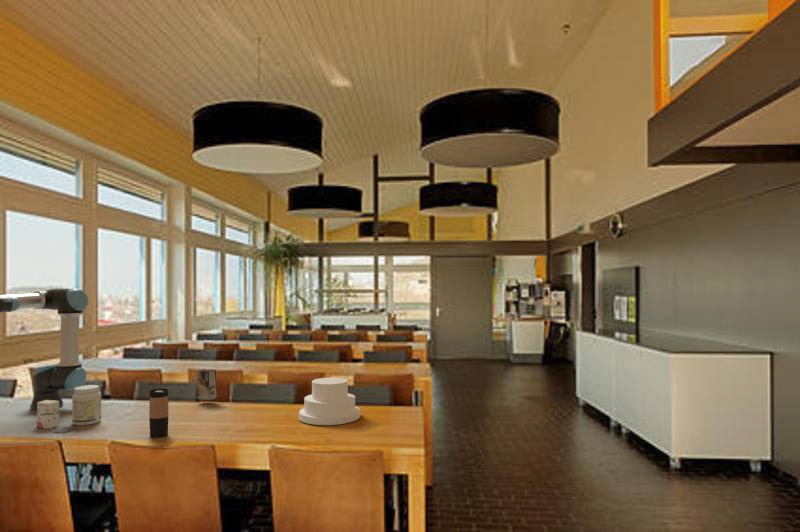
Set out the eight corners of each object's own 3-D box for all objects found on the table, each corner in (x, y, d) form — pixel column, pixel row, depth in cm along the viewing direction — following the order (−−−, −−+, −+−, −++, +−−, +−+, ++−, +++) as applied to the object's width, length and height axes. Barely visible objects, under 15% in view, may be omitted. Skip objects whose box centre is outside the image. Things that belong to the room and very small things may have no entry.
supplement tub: (84, 418, 268) (84, 384, 268) (107, 419, 266) (107, 384, 267) (65, 425, 256) (65, 389, 256) (89, 426, 254) (89, 390, 255)
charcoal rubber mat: (65, 427, 252) (65, 426, 252) (77, 428, 250) (77, 427, 251) (50, 432, 245) (50, 431, 245) (62, 433, 243) (62, 432, 243)
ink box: (36, 427, 253) (36, 402, 253) (45, 424, 258) (45, 399, 258) (50, 429, 250) (50, 403, 251) (59, 426, 255) (59, 400, 255)
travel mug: (153, 433, 242) (153, 388, 242) (170, 433, 242) (170, 388, 243) (146, 439, 234) (146, 392, 234) (165, 438, 235) (165, 392, 235)
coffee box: (217, 397, 312) (217, 369, 312) (209, 400, 306) (209, 371, 306) (204, 396, 316) (204, 368, 316) (196, 398, 310) (196, 370, 310)
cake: (330, 428, 249) (330, 389, 249) (286, 418, 267) (286, 382, 267) (372, 415, 273) (372, 379, 273) (329, 406, 291) (329, 373, 291)
